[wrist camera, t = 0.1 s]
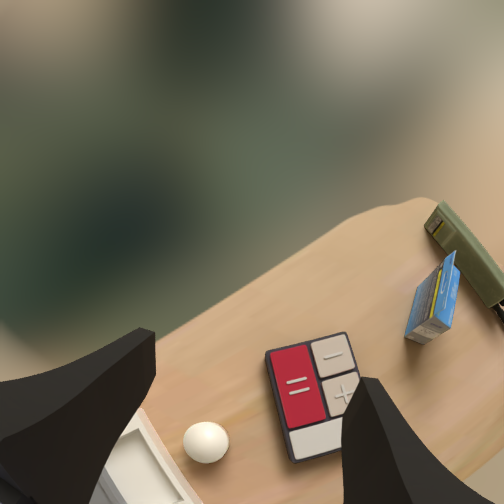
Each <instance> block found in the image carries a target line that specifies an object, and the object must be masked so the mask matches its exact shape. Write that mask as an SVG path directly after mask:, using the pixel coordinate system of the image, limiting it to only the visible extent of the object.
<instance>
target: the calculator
mask: <svg viewBox="0 0 504 504" xmlns="http://www.w3.org/2000/svg"><path fill="white" fill-rule="evenodd" d="M265 361H266V365H267V369H268V373H269V378H270V382H271V386H272V390H273V394H274V398H275V402H276V406H277V410H278V415H279V419H280V423H281V427H282V431H283V436H284V440H285V444H286V448H287V452H288V456H289V459H290V460H291V461H292V462H293V463H299V462H303V461H307V460H310V459H314V458H317V457H321V456H324V455H328V454H331V453H334V452H337V451H340V450H341V429H342V415H343V413H344V411H345V410H346V408H347V406H348V404H349V402H350V400H351V397H352V395H353V393H354V391H355V389H356V387H357V385H358V383H359V381H360V379H361V377H360V373H359V370H358V367H357V364H356V360H355V357H354V354H353V351H352V348H351V345H350V341H349V338H348V335H347V333H346V332H340V333H336V334H333V335H329V336H325V337H321V338H318V339H314V340H310V341H306V342H302V343H298V344H293V345H289V346H285V347H281V348H276V349H272V350H268V351H266V353H265Z"/></svg>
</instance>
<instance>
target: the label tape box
mask: <svg viewBox="0 0 504 504" xmlns="http://www.w3.org/2000/svg"><path fill="white" fill-rule="evenodd" d="M455 253H456V251H454V252H453V253H451V254H450V255H449V256H447V257H446V258H445V259H444V260H443V261H442V263H441V264H440V265H439V266H438V267H437V268H436V269H435V270H434V271H433V272H432V273H431V274H430V275H429V276H428V277H427V278H426V279H425V280H424V281H423V282H422V283H421V284H420V285H419V286H418V287H417V291H416V295H415V299H414V303H413V307H412V311H411V314H410V318H409V321H408V325H407V328H406V332H405V336H404V337H406V338H408V339H411V340H414V341H416V342H419V343H421V344H426V343H427V342H429V341H431V340H432V339H434V338H436V337H437V336H439V335H441V334H442V333H444V332H445V331H447V330H449V329H450V328H451V324H452V319H453V314H454V309H455V303H456V297H457V291H458V285H459V278H460V271H459V270H458V269H457V268H456V267H455V266H454V265H453V263H454V258H455Z"/></svg>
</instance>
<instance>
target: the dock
mask: <svg viewBox="0 0 504 504" xmlns="http://www.w3.org/2000/svg"><path fill="white" fill-rule="evenodd" d="M104 467H105V468H106V470H107V472H108V474H109V475H110V477H111V479H112V480H113V482H114V484H115V485H116V487H117V489H118V490H119V492H120V493H121V495H122V496H123V498H124V500H125V501H126V503H127V504H203V502H202V501H201V500H200V498H199V497H198V495H197V494H196V493H195V491H194V490H193V488H192V487H191V486H190V484H189V483H188V481H187V480H186V478H185V477H184V475H183V474H182V472H181V471H180V469H179V468H178V466H177V465H176V463H175V462H174V460H173V459H172V457H171V456H170V454H169V452H168V451H167V449H166V448H165V446H164V444H163V443H162V441H161V439H160V438H159V436H158V434H157V433H156V431H155V429H154V427H153V426H152V424H151V422H150V421H149V419H148V417H147V415H146V413H145V412H144V410H143V408H138V410H137V411H136V413H135V414H134V416H133V417H132V419H131V420H130V422H129V423H128V425H127V427H126V428H125V430H124V431H123V433H122V434H121V436H120V437H119V439H118V440H117V442H116V444H115V446H114V447H113V449H112V451H111V453H110V455H109V458H108V460H107V462H106V464H105V466H104Z"/></svg>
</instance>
